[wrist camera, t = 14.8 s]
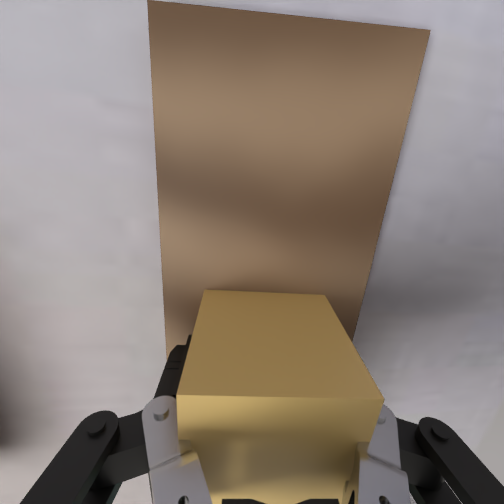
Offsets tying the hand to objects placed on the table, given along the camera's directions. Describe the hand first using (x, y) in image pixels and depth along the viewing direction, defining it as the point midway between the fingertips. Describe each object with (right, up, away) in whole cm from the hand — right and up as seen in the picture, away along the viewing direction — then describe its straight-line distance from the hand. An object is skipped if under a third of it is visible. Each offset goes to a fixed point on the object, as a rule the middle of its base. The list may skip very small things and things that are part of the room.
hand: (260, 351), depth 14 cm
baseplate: (0, +2, +1) cm, 2 cm away
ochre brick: (0, 0, +1) cm, 1 cm away
